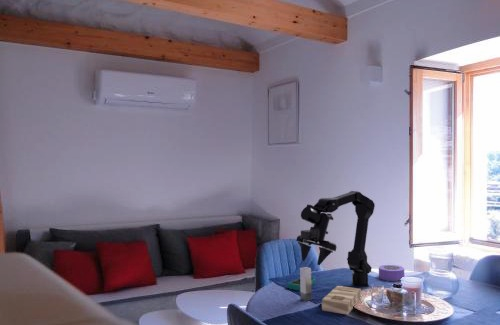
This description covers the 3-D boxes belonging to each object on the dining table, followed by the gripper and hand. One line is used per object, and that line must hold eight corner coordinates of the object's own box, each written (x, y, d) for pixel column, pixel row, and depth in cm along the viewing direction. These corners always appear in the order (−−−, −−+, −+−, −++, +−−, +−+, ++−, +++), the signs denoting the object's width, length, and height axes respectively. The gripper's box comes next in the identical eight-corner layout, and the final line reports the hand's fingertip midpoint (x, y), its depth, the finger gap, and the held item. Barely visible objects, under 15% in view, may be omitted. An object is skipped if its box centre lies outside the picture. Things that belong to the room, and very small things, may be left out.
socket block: (337, 295, 179) (337, 285, 179) (361, 298, 175) (360, 288, 174) (321, 310, 162) (321, 299, 162) (347, 314, 157) (347, 303, 157)
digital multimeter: (316, 283, 198) (316, 277, 198) (300, 292, 186) (300, 285, 186) (302, 281, 202) (302, 275, 202) (286, 289, 190) (286, 282, 190)
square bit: (306, 297, 177) (305, 266, 177) (311, 299, 174) (311, 268, 174) (300, 299, 175) (300, 268, 175) (305, 301, 172) (305, 269, 172)
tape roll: (377, 280, 201) (377, 269, 201) (380, 273, 212) (379, 263, 212) (404, 282, 197) (403, 271, 197) (405, 275, 207) (404, 265, 207)
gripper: (292, 219, 182) (282, 254, 179) (323, 223, 167) (313, 262, 164) (310, 226, 188) (300, 260, 185) (341, 231, 173) (331, 269, 170)
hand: (310, 262), depth 176 cm, fingers open, 9 cm apart
